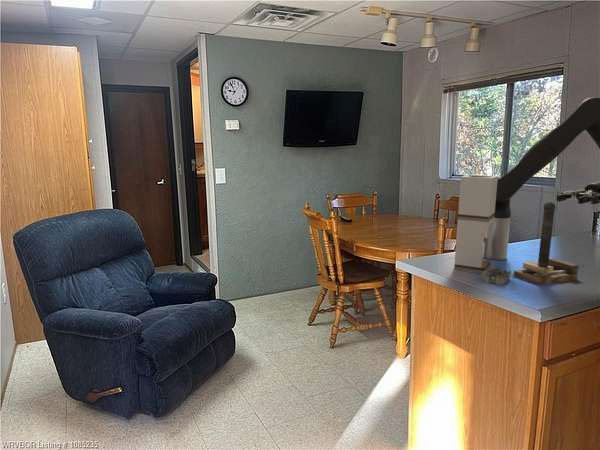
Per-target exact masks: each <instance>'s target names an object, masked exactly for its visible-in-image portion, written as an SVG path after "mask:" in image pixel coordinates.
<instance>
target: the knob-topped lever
mask: <svg viewBox="0 0 600 450" xmlns="http://www.w3.org/2000/svg"><path fill="white" fill-rule="evenodd" d="M542 208H543V214H542V224H541V233H540V242H539V251H538V260H537V261H538V262H537V261H535V260H534V261H528V262H527V261H526V262H525V261H524V262H523V263H522V269H527V270H531V271H534V272H537V273H540V274H547V273H553V267H551V266H548V264H549V259H550V253H551V243H552V238H553V237H552V236H553V235H552V234H553V229H554V227H553V226H554V219H555V217H554V216H555V210H556V204H555V203H554V202H553V201H547V202H544V205H543V207H542Z"/></svg>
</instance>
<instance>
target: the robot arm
mask: <svg viewBox="0 0 600 450" xmlns="http://www.w3.org/2000/svg"><path fill="white" fill-rule="evenodd" d="M584 131H586V133H587V134H588V135H589V136H590V138H591V139H592V140H593V141H594V143H595V144H596V146H597V148H598V149H599V150H600V97H595V96H593V97H589V98H586V99H584V100H583V101H581V102H580V103H579V105H578V106H577V107H576V108H575V110H574V111H573V112H572V113H571V114H570V115H569V116H568V117H567V118H566V119H565V120H564V121H563V122H562V123H560V124H559V125H557V126H556V127H555V128H553V129H552V130H550V131H548V133H546V134H544V136H543V137H541V138H540V139H539V140H537V141H536V142H535V143H534V144H533V145H532V146H531V147H530V148H529V149H528V150H527V151H526V152H525V153H524V155H523V156H522V157H521V159H520V160H519V161H518V163H517V164H516V165H515V166H514V167H513V168H512V169H511V170H510V171H508V172H507V173H505V174H504V175H503V176H498V180H497V191H496V203H495V214H494V222H493V223H491V224H490V225H489V226H488V234H487V241H486V242H484V244H483V255H482V259H488V260H494V261H495V260H498V261H501V260H502V261H503V260H507V258H508V248H509V239H510V238H509V237H510V226H511V216H512V215H511V214H512V210H511V199H512V198H513V197H514V195H515V194H516V193H517V192H519V190H520V189H521V188H522V187H523V186H524V185H525V184H526V183H527V182H528V181H529V180H531V178H533V177H534V176H535V175H537V174H538V173H539V172H540V171H541V170H543V169H544V168H545V167H547V166H548V165H550V163H551V162H553V161H554V160H555V159H556V158H557V157H558V156H559V155H561V154H562V153H563V152H564V151H565V150H566V149H567V148H568V147H569V146H570V145H571V144H572V143H573V142H574V141H575V139H576V138H577V137H578V136H579V135H580V134H582V133H583V132H584ZM563 201H571V202H572V201H573V202H575V201H576V202H577V204H579V205H582V204H586V203H589V204H590V205H597V204H600V181H596V182H593V183H589V184H587V185H586V186H585V187H584V188H583V189H578V190H574V189H571V190H567V191H561V192H560V194H558V195H556V202H563Z"/></svg>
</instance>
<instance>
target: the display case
mask: <svg viewBox="0 0 600 450" xmlns="http://www.w3.org/2000/svg"><path fill="white" fill-rule="evenodd" d="M498 177H499V176H498V175H493V176H490V177H489V176H488V177H487V176H480V177H479V176H471V174H465V175H462V176H460V182H459V183H460V184H459V198H458V211H457V226H456V236H455V237H456V239H455V240H456V241H455V251H454V253H455V255H454V267H453V268H454V269H453V270H456V271H463V272H469V273H477V274H482V275H483V271H485V270H487V269H490V268H491V261H489V260H483V244H484V242H486V241H487V234H488V226H489V225H490V224H491V223H493V222H494V214H495V203H496V191H497V180H498Z"/></svg>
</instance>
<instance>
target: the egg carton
mask: <svg viewBox="0 0 600 450" xmlns="http://www.w3.org/2000/svg"><path fill="white" fill-rule="evenodd" d="M482 275H483V277H482V278H483V279H482V280H483V282H485V283H494V284H495V285H504V284H505V283H507V282H508V281H510V280H511V278H510V277H511V275H512V271H511V270H510V271H508V270H507V269H503V268H501V267H496V266H494V265H492V266H490V267H489V268H488V269H487V270H485V271H483V274H482Z"/></svg>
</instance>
